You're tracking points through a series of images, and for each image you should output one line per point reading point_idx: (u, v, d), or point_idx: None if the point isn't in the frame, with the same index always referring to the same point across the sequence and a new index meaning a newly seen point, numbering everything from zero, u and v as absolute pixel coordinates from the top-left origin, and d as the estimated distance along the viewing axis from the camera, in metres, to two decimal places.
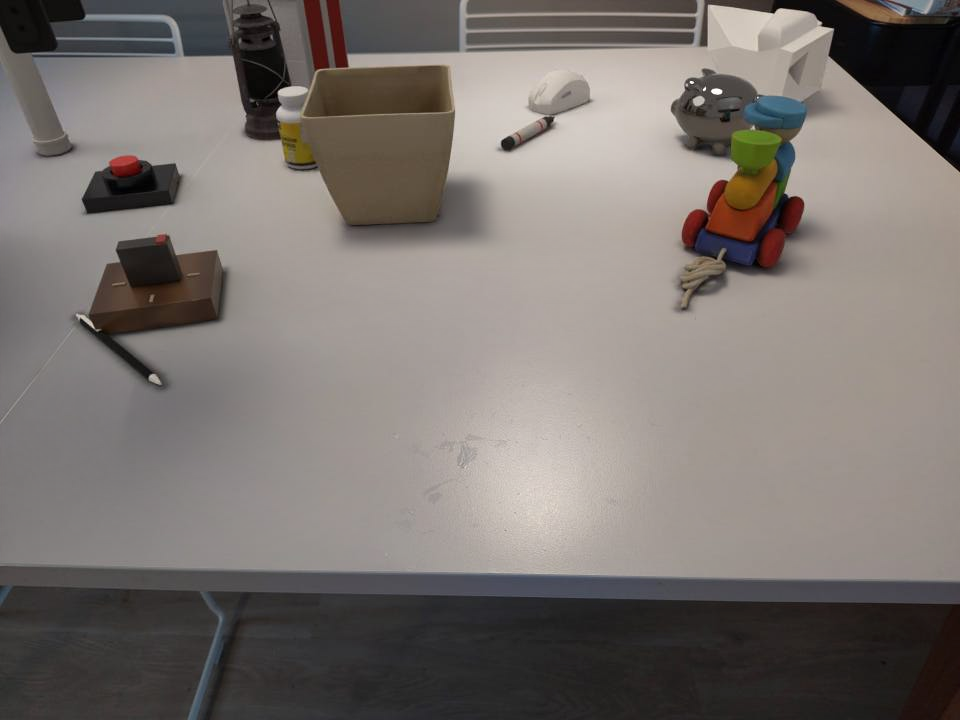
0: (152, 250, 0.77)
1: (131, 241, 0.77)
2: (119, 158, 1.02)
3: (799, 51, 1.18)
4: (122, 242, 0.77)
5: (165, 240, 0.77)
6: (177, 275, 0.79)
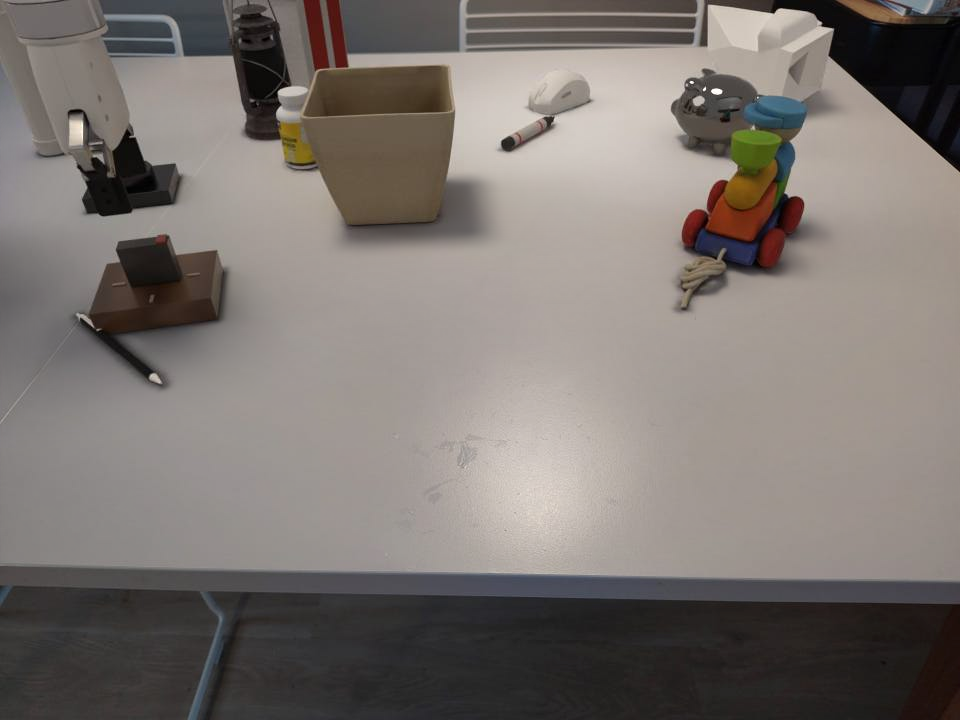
0: (152, 250, 0.77)
1: (131, 241, 0.77)
2: None
3: (799, 51, 1.18)
4: (122, 242, 0.77)
5: (165, 240, 0.77)
6: (177, 275, 0.79)
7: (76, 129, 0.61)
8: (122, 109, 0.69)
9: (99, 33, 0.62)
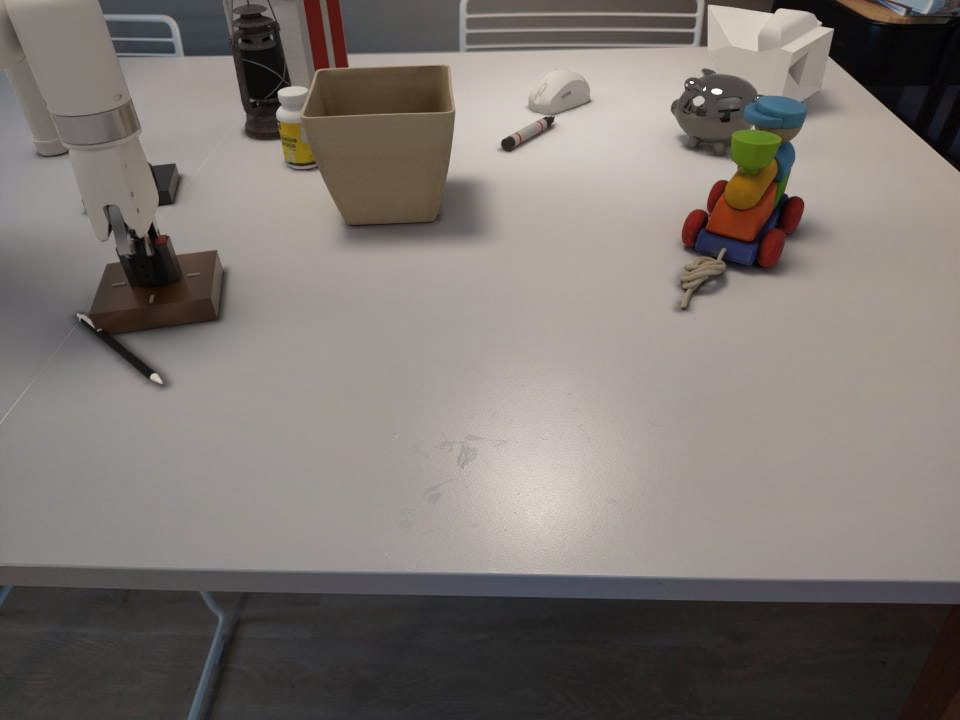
0: None
1: None
2: None
3: (799, 51, 1.18)
4: None
5: (165, 240, 0.77)
6: (177, 275, 0.79)
7: (120, 233, 0.70)
8: (152, 196, 0.75)
9: (133, 137, 0.68)
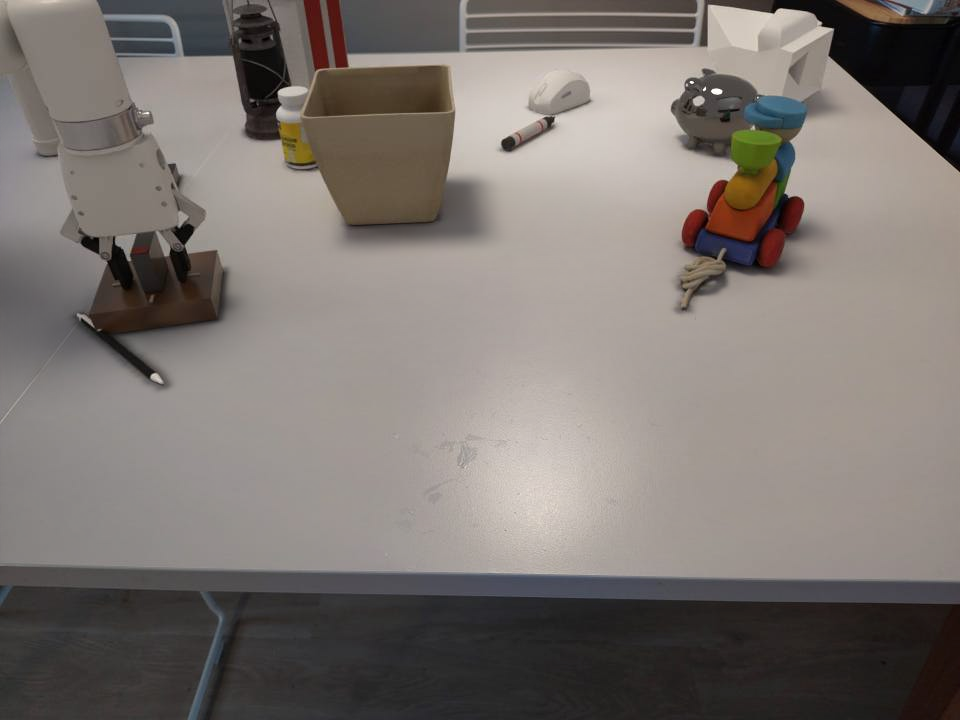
0: None
1: (148, 236, 0.78)
2: None
3: (799, 51, 1.18)
4: (150, 232, 0.79)
5: (134, 253, 0.75)
6: (142, 287, 0.77)
7: (68, 215, 0.73)
8: (138, 216, 0.73)
9: (79, 154, 0.66)
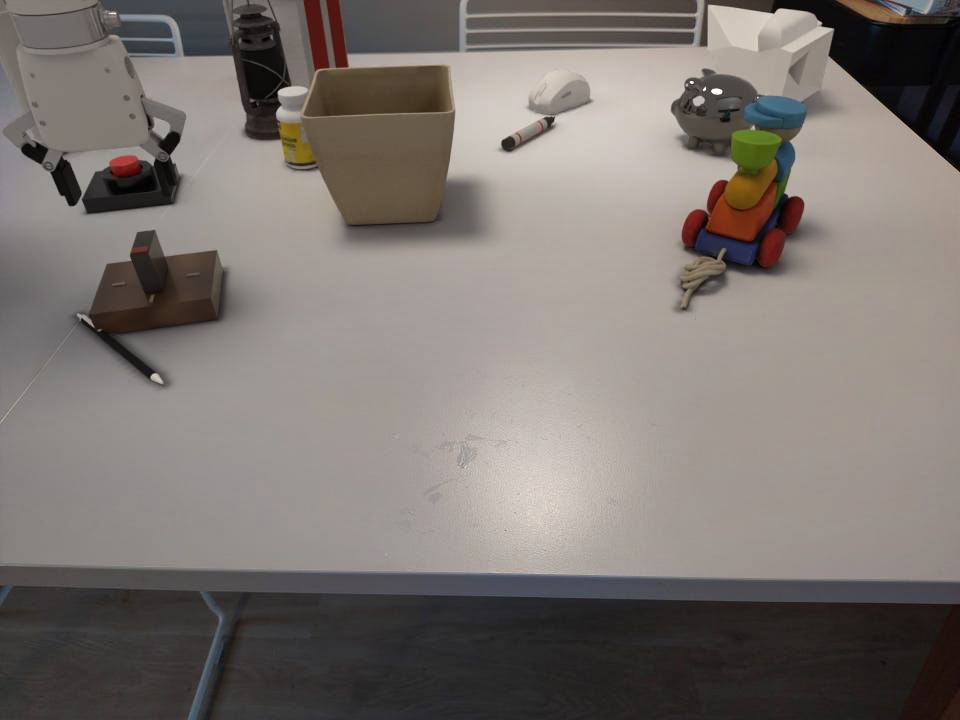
0: None
1: (148, 236, 0.78)
2: (119, 158, 1.02)
3: (799, 51, 1.18)
4: (150, 232, 0.79)
5: (134, 253, 0.75)
6: (142, 287, 0.77)
7: (19, 116, 0.68)
8: (105, 129, 0.68)
9: (39, 53, 0.62)
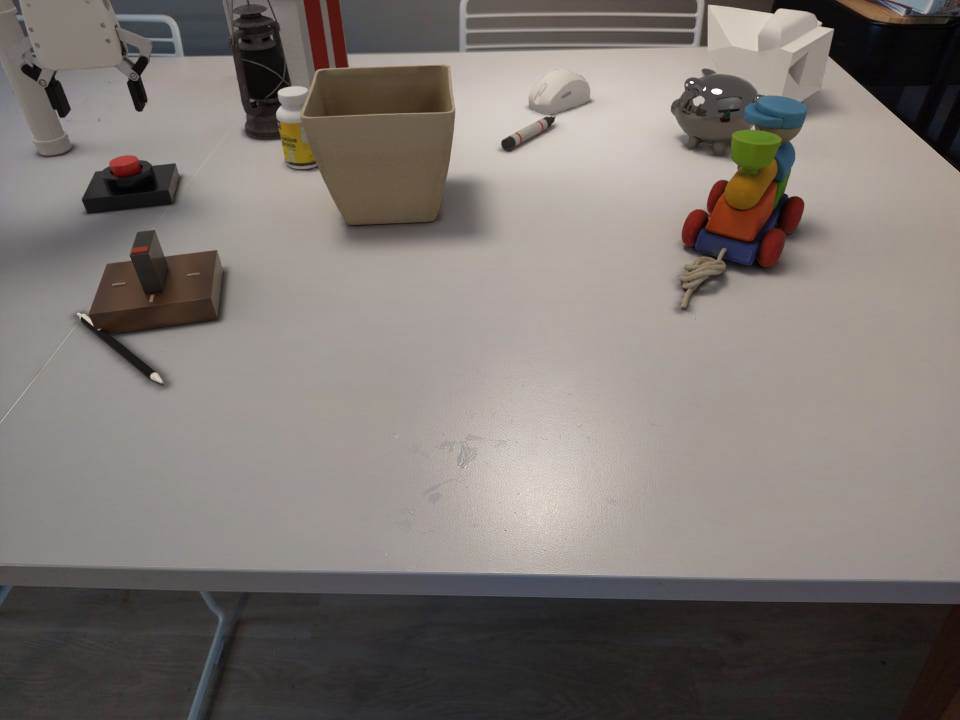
0: None
1: (148, 236, 0.78)
2: (119, 158, 1.02)
3: (799, 51, 1.18)
4: (150, 232, 0.79)
5: (134, 253, 0.75)
6: (142, 287, 0.77)
7: None
8: (86, 51, 0.86)
9: None
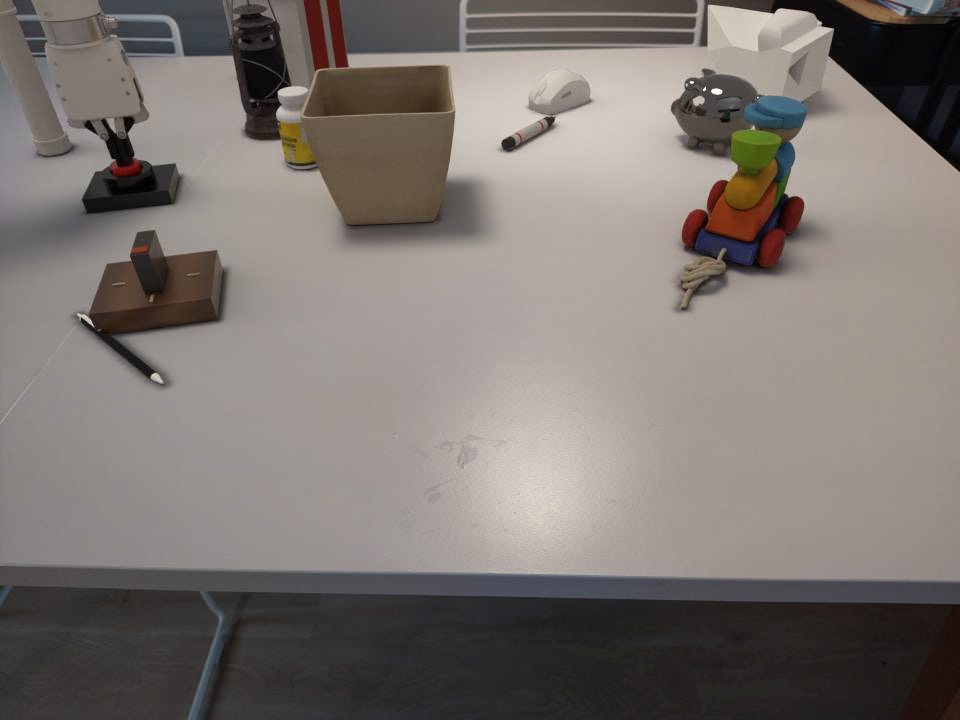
0: None
1: (148, 236, 0.78)
2: None
3: (799, 51, 1.18)
4: (150, 232, 0.79)
5: (134, 253, 0.75)
6: (142, 287, 0.77)
7: None
8: (108, 103, 0.94)
9: (61, 48, 0.88)
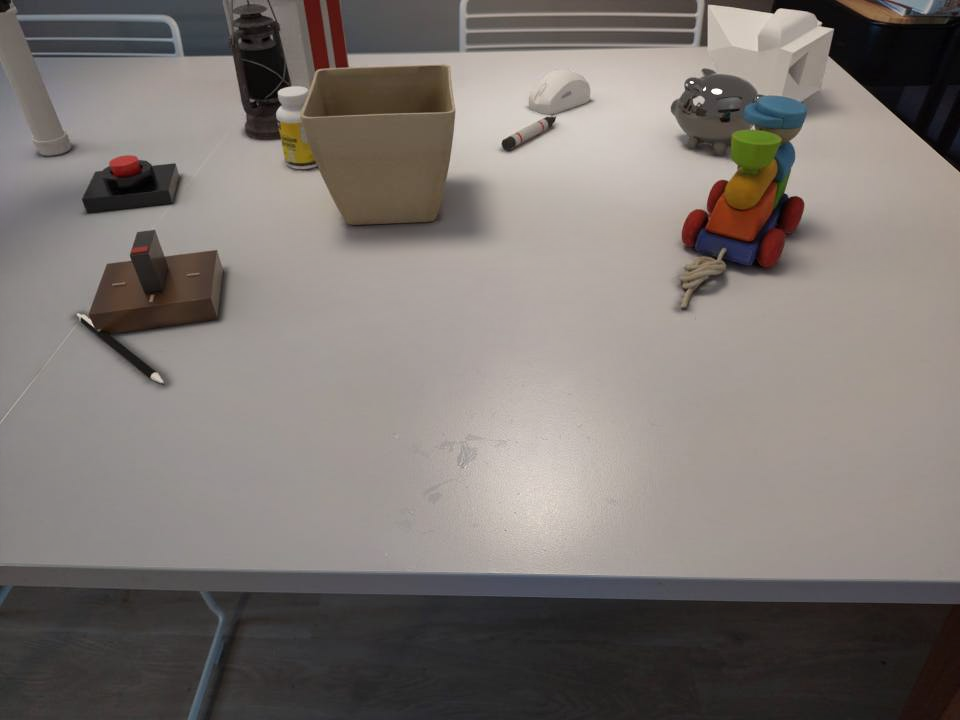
0: None
1: (148, 236, 0.78)
2: (119, 158, 1.02)
3: (799, 51, 1.18)
4: (150, 232, 0.79)
5: (134, 253, 0.75)
6: (142, 287, 0.77)
7: None
8: None
9: None
